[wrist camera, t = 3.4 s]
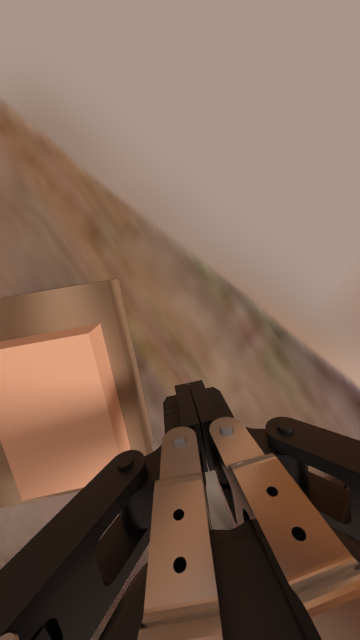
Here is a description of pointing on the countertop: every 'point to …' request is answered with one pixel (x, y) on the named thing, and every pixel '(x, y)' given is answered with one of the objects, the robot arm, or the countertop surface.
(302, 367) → the countertop surface
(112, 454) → the orange rectangular block
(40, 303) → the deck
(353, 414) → the countertop surface
